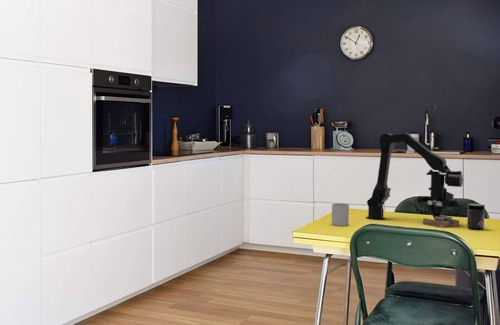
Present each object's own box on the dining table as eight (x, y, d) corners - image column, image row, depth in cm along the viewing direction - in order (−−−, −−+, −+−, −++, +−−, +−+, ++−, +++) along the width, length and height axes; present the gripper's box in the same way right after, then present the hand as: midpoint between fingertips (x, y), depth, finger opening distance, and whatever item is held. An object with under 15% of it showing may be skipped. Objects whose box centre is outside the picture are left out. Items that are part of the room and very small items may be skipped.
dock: (442, 227, 268) (442, 220, 268) (422, 224, 278) (423, 217, 278) (459, 226, 273) (459, 219, 273) (439, 222, 283) (439, 215, 283)
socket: (443, 226, 271) (443, 217, 271) (434, 225, 275) (434, 215, 275) (451, 226, 273) (451, 216, 273) (442, 224, 278) (442, 214, 278)
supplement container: (476, 231, 261) (477, 206, 261) (463, 228, 267) (464, 204, 266) (487, 229, 265) (488, 205, 264) (474, 227, 270) (475, 203, 270)
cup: (333, 226, 268) (333, 205, 267) (328, 222, 278) (329, 202, 277) (350, 226, 268) (350, 205, 268) (344, 222, 278) (345, 202, 278)
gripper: (467, 186, 273) (465, 222, 274) (434, 183, 289) (433, 216, 290) (449, 187, 267) (448, 224, 268) (416, 183, 283) (415, 218, 284)
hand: (436, 220), depth 278 cm, fingers closed
